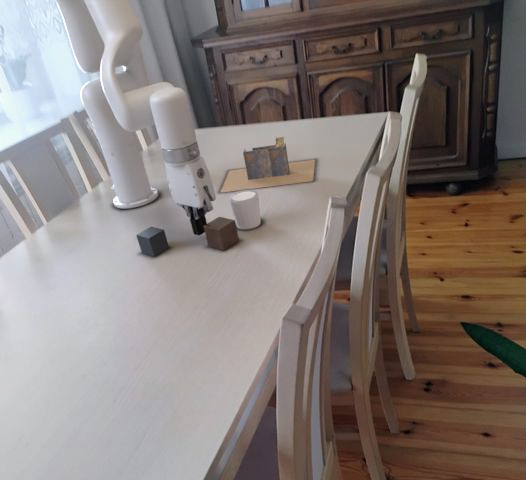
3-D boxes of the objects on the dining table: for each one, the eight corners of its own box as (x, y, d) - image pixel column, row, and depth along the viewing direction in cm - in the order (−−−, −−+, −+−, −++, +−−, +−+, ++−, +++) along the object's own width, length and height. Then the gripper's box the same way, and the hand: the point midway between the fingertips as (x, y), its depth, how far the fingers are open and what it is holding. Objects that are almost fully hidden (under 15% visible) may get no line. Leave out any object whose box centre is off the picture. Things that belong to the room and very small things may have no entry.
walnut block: (208, 246, 127) (203, 225, 124) (223, 236, 130) (219, 216, 127) (223, 250, 124) (219, 229, 121) (239, 240, 127) (235, 220, 124)
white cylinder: (260, 229, 130) (254, 200, 126) (231, 231, 132) (225, 203, 128) (266, 216, 135) (261, 188, 131) (238, 218, 137) (232, 190, 133)
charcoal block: (141, 253, 130) (135, 234, 128) (156, 244, 133) (151, 226, 130) (154, 256, 128) (148, 238, 125) (169, 247, 130) (164, 229, 127)
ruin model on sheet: (315, 159, 161) (311, 124, 156) (313, 181, 148) (308, 143, 143) (229, 170, 166) (222, 136, 160) (220, 192, 153) (212, 156, 147)
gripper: (218, 149, 117) (235, 231, 128) (171, 143, 126) (190, 220, 137) (192, 162, 113) (212, 245, 124) (145, 155, 122) (167, 233, 133)
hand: (201, 232), depth 131 cm, fingers closed
